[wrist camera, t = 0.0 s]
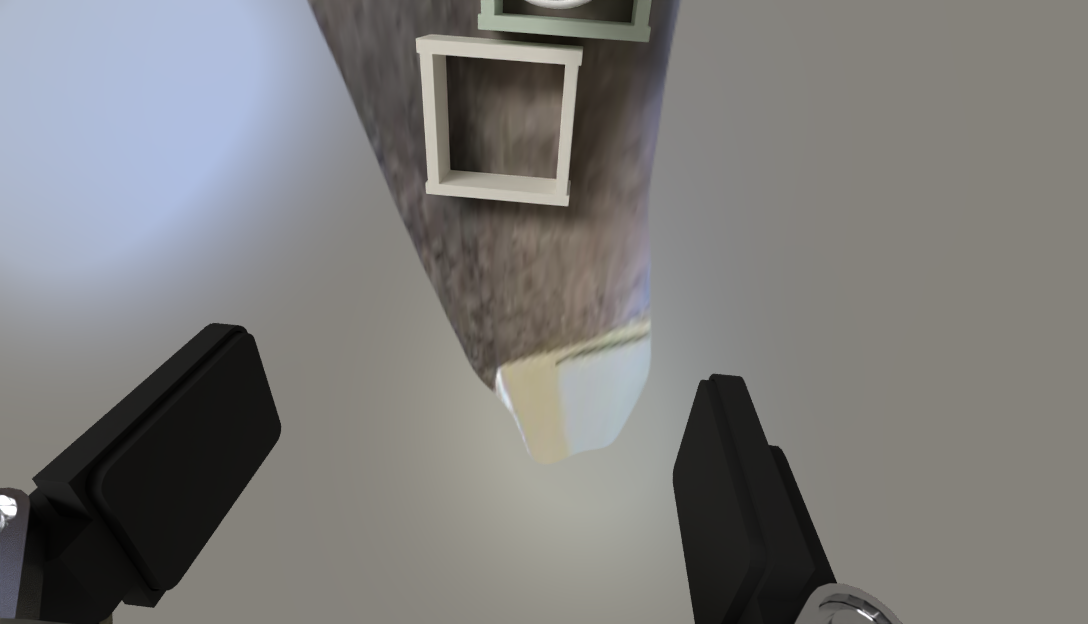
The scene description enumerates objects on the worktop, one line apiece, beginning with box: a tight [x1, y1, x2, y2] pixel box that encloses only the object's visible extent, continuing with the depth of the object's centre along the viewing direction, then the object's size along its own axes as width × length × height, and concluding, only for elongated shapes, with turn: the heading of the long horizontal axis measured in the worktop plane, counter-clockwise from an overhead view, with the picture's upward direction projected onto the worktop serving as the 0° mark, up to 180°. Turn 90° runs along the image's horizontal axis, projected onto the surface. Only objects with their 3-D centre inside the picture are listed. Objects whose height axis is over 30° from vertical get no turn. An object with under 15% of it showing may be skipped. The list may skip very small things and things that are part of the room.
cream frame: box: [416, 34, 583, 206], centre depth 36 cm, size 10×11×4 cm
